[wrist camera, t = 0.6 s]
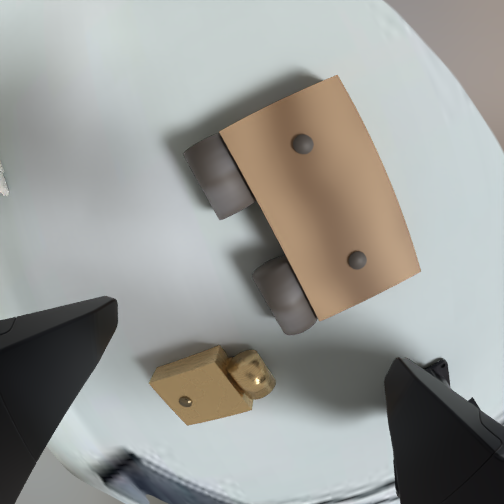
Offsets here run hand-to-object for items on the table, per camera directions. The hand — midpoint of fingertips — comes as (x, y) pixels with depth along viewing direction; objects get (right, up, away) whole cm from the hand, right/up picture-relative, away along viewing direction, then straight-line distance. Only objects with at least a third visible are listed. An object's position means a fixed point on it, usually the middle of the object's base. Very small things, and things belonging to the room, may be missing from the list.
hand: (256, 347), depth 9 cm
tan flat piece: (+4, +6, +12) cm, 14 cm away
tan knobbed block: (-3, -8, +17) cm, 19 cm away
